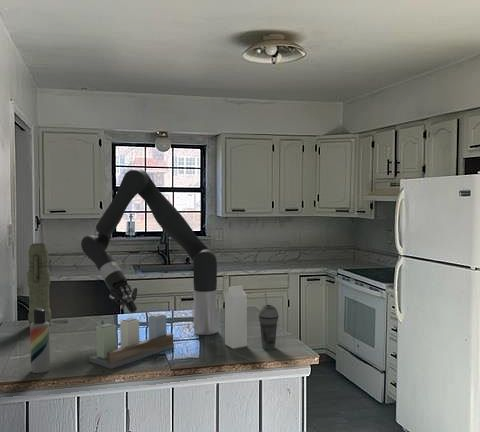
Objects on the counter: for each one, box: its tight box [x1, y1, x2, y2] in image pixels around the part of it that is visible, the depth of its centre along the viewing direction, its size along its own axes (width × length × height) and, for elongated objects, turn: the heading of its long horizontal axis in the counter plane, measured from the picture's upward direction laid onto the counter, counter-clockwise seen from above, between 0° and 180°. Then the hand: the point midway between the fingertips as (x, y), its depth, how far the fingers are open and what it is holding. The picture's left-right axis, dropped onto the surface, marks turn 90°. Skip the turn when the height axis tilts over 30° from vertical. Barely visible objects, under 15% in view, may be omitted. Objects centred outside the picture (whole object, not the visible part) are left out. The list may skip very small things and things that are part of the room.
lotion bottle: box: [29, 308, 51, 374], centre depth 161 cm, size 6×6×20 cm
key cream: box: [119, 317, 140, 348], centre depth 178 cm, size 4×5×10 cm
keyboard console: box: [88, 332, 175, 370], centre depth 177 cm, size 12×28×5 cm, turn 142°
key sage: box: [95, 323, 117, 359], centre depth 170 cm, size 4×5×10 cm
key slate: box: [148, 313, 168, 340], centre depth 184 cm, size 4×5×10 cm
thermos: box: [26, 242, 52, 329], centre depth 214 cm, size 9×12×35 cm
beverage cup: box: [258, 292, 279, 350], centre depth 184 cm, size 7×7×20 cm
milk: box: [224, 285, 248, 349], centre depth 187 cm, size 6×6×22 cm
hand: (134, 311), depth 191 cm, fingers closed
